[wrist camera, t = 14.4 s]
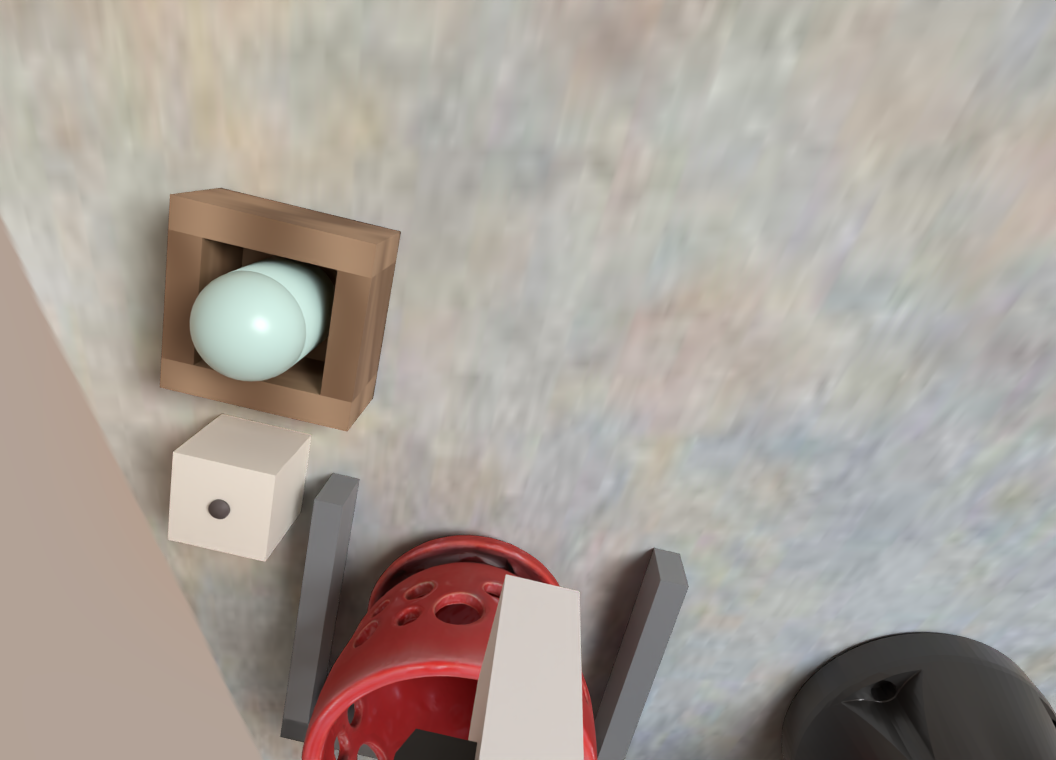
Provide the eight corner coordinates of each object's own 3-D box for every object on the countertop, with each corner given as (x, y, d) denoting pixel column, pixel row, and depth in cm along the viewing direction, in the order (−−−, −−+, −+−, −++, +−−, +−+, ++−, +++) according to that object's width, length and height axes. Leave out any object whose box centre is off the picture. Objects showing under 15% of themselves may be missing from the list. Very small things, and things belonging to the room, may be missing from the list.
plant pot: (418, 714, 44) (365, 915, 32) (336, 543, 40) (244, 702, 28) (616, 670, 42) (634, 867, 30) (550, 485, 38) (543, 631, 26)
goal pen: (679, 554, 39) (688, 586, 36) (603, 767, 44) (605, 809, 41) (333, 472, 38) (314, 499, 35) (299, 698, 44) (280, 736, 41)
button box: (400, 231, 34) (376, 244, 29) (373, 397, 37) (347, 431, 32) (220, 187, 33) (169, 194, 29) (207, 358, 36) (159, 387, 32)
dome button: (345, 267, 33) (290, 297, 27) (332, 359, 35) (277, 409, 28) (247, 243, 33) (169, 268, 26) (239, 337, 35) (163, 382, 28)
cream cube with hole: (312, 434, 38) (273, 477, 33) (301, 511, 39) (263, 564, 34) (222, 413, 38) (170, 453, 33) (215, 491, 39) (165, 541, 34)
